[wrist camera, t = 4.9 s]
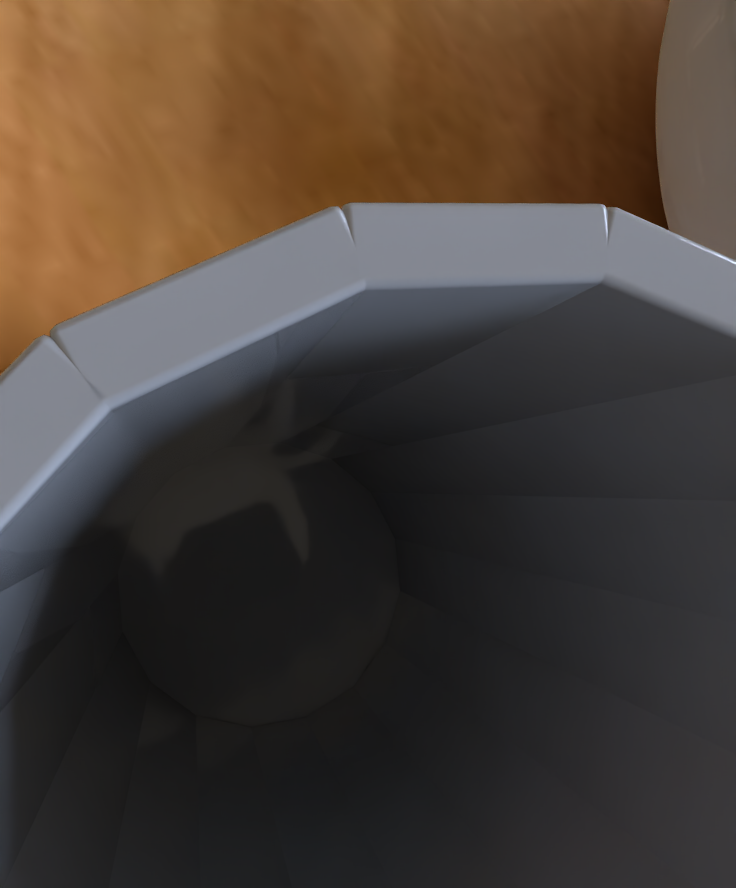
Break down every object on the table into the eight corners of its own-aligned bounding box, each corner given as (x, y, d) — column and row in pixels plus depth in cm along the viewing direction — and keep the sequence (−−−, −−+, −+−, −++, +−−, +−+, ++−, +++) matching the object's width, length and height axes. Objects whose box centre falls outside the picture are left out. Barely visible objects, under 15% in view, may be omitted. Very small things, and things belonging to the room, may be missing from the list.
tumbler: (391, 418, 17) (1014, 201, 4) (419, 703, 16) (1178, 1412, 4) (89, 441, 15) (-442, 195, 2) (116, 761, 15) (-324, 2410, 2)
